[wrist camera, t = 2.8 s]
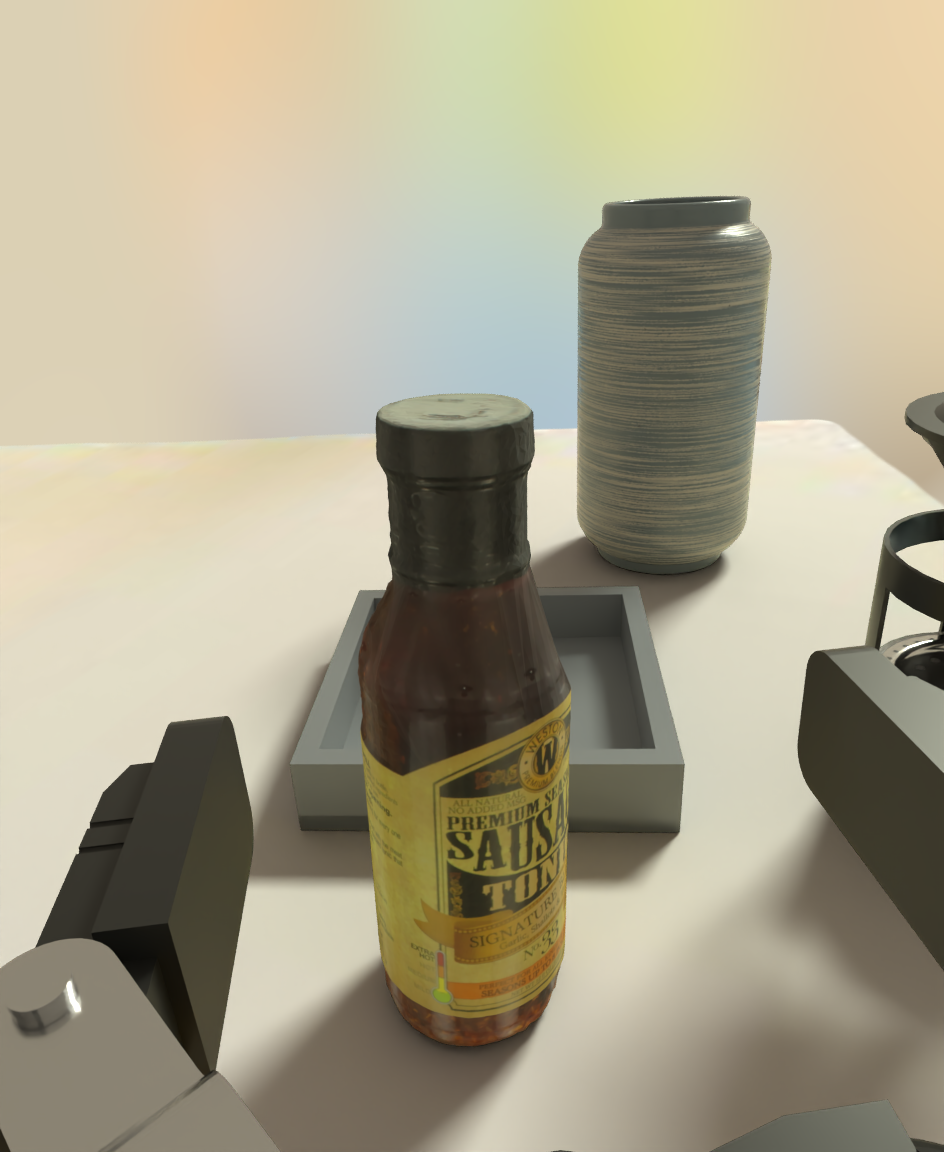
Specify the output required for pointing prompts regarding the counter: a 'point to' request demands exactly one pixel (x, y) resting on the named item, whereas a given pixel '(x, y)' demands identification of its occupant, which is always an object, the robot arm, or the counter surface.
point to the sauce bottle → (464, 728)
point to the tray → (597, 727)
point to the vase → (669, 378)
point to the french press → (922, 654)
